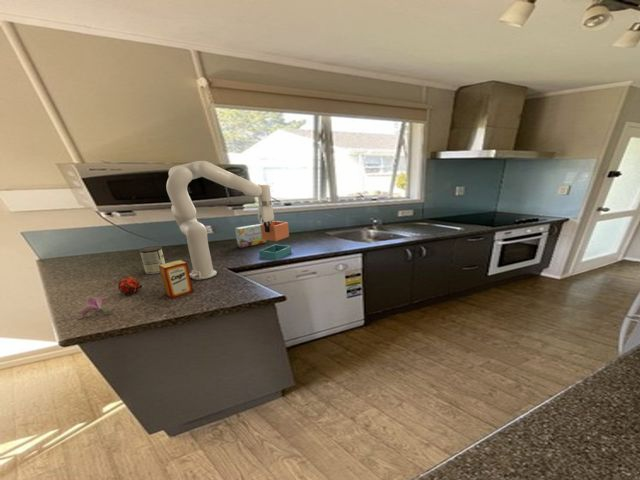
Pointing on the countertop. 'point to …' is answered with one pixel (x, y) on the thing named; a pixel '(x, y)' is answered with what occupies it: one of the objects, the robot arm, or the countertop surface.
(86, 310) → the lily
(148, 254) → the coffee can
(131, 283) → the dragon fruit
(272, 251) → the lower bin
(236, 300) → the countertop surface
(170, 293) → the baking soda box
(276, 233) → the upper bin
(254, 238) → the snack box
